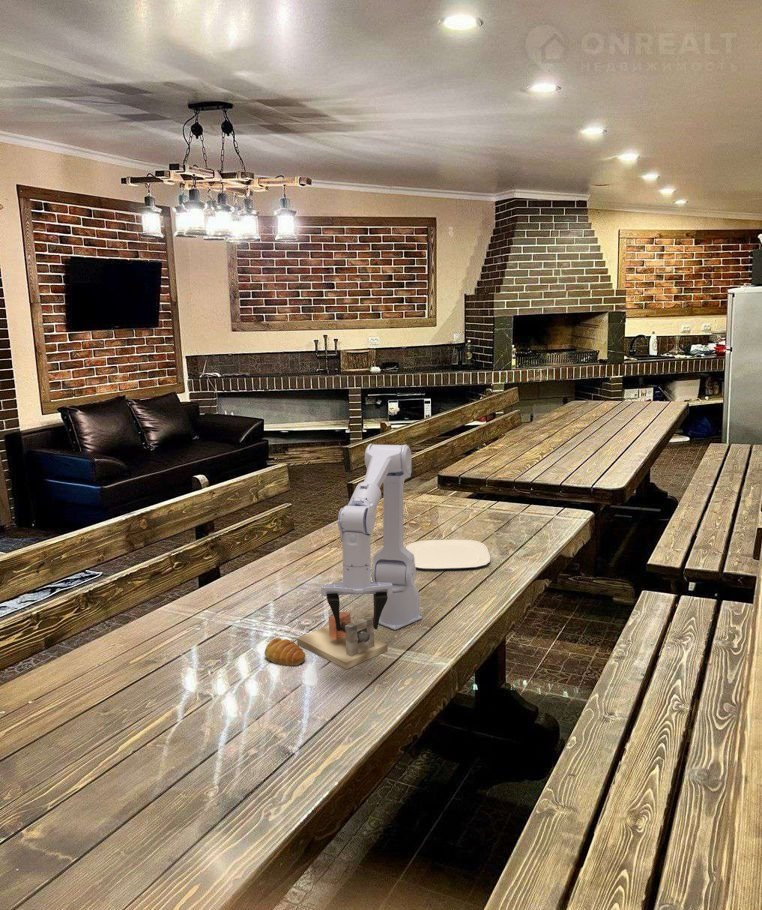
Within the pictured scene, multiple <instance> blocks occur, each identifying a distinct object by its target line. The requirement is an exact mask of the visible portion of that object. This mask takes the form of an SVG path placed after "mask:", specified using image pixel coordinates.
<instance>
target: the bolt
mask: <svg viewBox="0 0 762 910" xmlns="http://www.w3.org/2000/svg"><path fill="white" fill-rule="evenodd" d="M339 617H340V631H337V629H336V621H335V618H334V615H333V614H332V615H331V616H328V625H329V634H330V637H331V638H333V639H335V640H338V639H341V638H343V637H345V636H346V635H345V625H348V624H350V623H352V621H351V620H352V619H351V618H352V617H351V613H349V612H347V611H345V610H344V611H341V612H340V611H339ZM357 638H358V639H359V640H362V641H364V642H367V641H368V640H369V639H370V634H369V633H367V632H365V631H362V630H360V631H358V632H357Z"/></svg>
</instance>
